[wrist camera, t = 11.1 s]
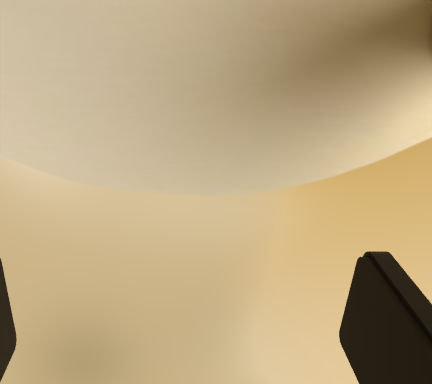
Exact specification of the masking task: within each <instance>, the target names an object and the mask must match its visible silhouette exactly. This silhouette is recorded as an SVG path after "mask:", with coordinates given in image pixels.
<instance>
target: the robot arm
mask: <svg viewBox="0 0 432 384" xmlns="http://www.w3.org/2000/svg"><path fill="white" fill-rule="evenodd" d="M339 337H340V343H341V345H342V347H343V350H344V352H345V354H346V356H347V358H348V360H349V363H350V365H351V367H352V369H353V371H354V373H355V375H356V377H357V380H358V382H359V384H432V304H431V303H430V302H429V300H428V299H427V298H426V297H425V296H424V294H423V293H422V292H421V291H420V289H419V288H418V287H417V286H416V284H415V283H414V282H413V281H412V279H410V277H409V276H408V275H407V273H406V272H405V271H404V270H403V268H402V267H401V266H400V265H399V263H398V262H397V261H396V260H395V259H394V258H393V256H392V255H391V254H390V253H389V252H366V253H365V254H364V256H363V257H359V258H358V260H357V263H356V267H355V271H354V276H353V279H352V283H351V287H350V291H349V295H348V299H347V303H346V307H345V311H344V315H343V319H342V323H341V327H340V331H339ZM15 347H16V332H15V327H14V322H13V317H12V312H11V307H10V302H9V297H8V292H7V287H6V282H5V278H4V272H3V267H2V262H1V259H0V381H1V379H2V377H3V374H4V373H5V370H6V368H7V366H8V364H9V361H10V359H11V357H12V355H13V353H14V350H15Z"/></svg>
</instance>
